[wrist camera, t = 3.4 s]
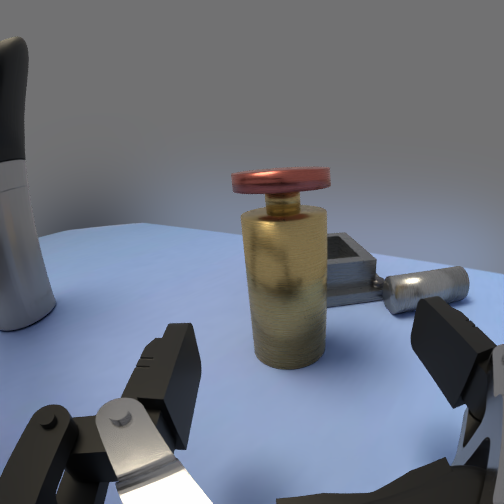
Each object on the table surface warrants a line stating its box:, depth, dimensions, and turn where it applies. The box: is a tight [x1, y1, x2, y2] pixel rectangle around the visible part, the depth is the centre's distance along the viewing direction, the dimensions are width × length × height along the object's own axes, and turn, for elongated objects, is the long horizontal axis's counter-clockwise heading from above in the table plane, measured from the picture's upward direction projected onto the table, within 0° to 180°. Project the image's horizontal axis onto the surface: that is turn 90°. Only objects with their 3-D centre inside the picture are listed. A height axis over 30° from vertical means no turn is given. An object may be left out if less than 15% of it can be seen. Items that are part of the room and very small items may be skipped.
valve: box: [231, 167, 331, 369], centre depth 18 cm, size 6×6×12 cm
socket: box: [327, 233, 384, 307], centre depth 30 cm, size 12×12×4 cm
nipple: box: [383, 266, 469, 314], centre depth 22 cm, size 8×3×3 cm
